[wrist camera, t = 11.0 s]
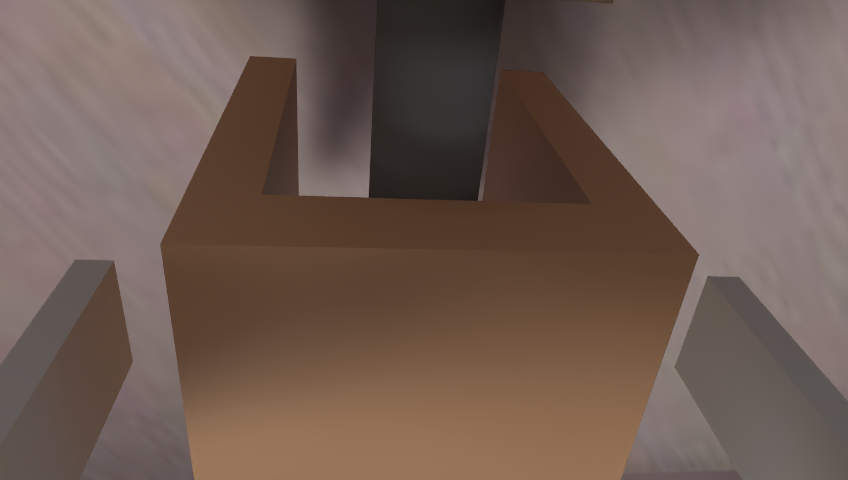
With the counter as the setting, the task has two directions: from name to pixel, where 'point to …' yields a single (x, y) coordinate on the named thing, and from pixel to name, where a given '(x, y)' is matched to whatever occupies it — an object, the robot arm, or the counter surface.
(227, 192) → the tan square cardboard-colored block
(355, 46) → the counter surface
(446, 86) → the hook stand
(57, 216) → the counter surface
